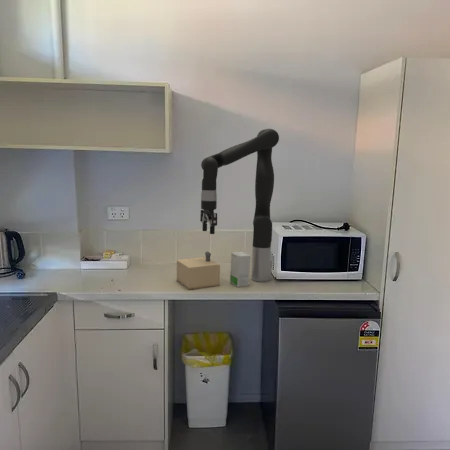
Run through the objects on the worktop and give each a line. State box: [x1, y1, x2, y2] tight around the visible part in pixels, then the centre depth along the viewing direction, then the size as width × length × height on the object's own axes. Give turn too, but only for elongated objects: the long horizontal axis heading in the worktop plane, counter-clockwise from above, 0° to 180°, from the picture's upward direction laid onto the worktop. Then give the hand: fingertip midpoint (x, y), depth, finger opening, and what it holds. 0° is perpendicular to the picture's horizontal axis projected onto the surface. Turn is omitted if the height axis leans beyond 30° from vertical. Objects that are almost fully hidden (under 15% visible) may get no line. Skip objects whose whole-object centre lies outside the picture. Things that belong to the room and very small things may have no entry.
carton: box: [176, 261, 221, 291], centre depth 201 cm, size 16×16×10 cm
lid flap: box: [176, 251, 221, 269], centre depth 199 cm, size 16×16×5 cm
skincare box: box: [229, 250, 251, 288], centre depth 200 cm, size 8×7×16 cm
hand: (208, 232), depth 200 cm, fingers open, 8 cm apart
